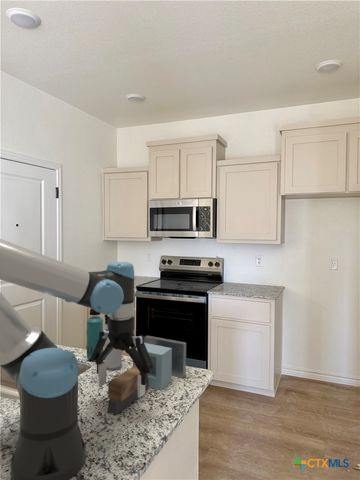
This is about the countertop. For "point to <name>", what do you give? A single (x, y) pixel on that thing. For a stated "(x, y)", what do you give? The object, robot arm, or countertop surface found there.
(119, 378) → the brown block
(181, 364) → the wall
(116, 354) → the travel mug
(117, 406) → the rail
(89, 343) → the teal cylinder
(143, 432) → the countertop surface
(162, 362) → the socket block
